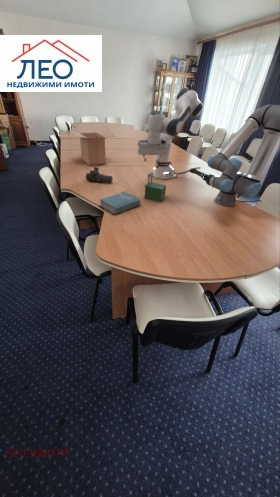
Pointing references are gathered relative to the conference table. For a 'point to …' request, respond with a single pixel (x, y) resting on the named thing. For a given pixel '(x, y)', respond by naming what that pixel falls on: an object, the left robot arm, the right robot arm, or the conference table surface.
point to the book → (119, 202)
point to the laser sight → (98, 176)
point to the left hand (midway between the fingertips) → (151, 161)
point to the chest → (155, 194)
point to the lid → (153, 185)
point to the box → (92, 146)
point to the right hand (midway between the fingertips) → (197, 174)
